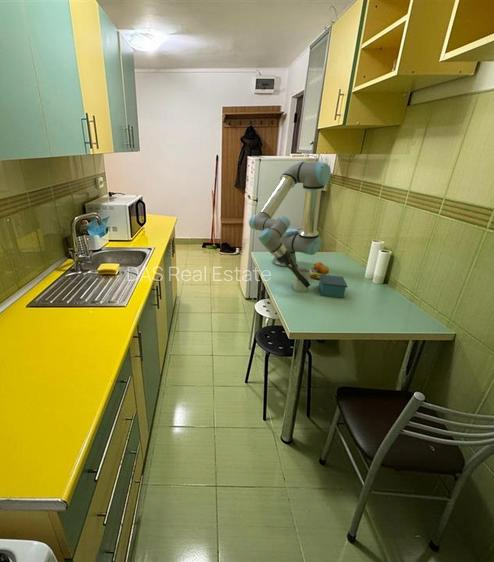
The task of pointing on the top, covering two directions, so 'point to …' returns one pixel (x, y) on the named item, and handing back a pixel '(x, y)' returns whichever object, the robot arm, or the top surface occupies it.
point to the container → (332, 285)
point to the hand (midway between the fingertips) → (305, 281)
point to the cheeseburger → (318, 270)
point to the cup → (298, 284)
